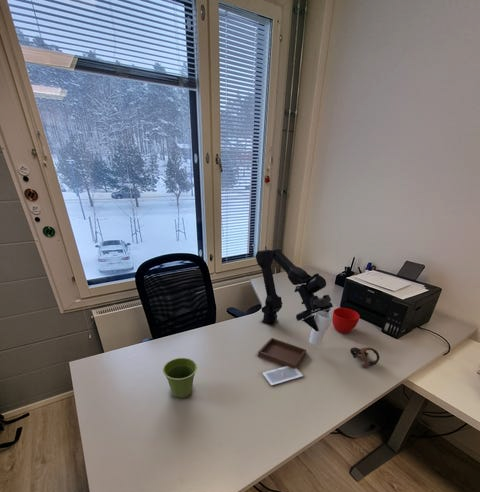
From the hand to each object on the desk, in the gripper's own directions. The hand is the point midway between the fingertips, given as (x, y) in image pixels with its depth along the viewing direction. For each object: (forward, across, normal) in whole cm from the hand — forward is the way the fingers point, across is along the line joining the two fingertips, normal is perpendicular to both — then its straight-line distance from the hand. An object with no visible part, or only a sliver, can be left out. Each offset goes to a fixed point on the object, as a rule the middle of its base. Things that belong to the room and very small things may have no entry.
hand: (322, 328), depth 118 cm
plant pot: (+1, -62, +18) cm, 65 cm away
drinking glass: (+5, -1, +7) cm, 9 cm away
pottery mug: (+20, +12, -2) cm, 23 cm away
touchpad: (+11, -25, +8) cm, 28 cm away
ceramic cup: (+4, +28, +15) cm, 32 cm away
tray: (+4, -15, +14) cm, 21 cm away
